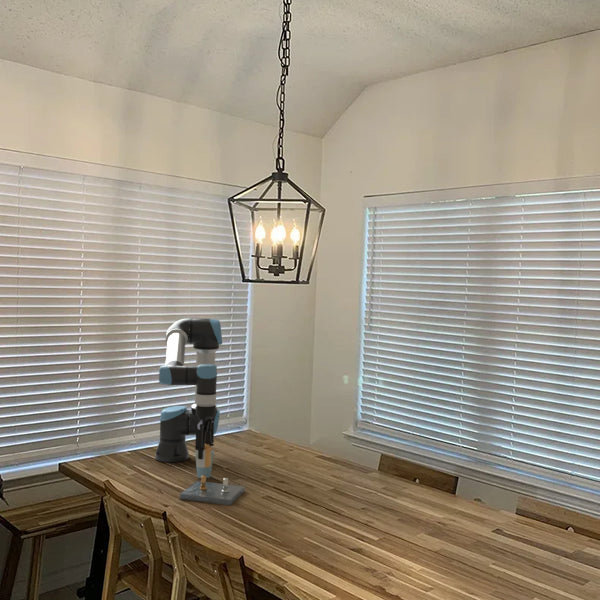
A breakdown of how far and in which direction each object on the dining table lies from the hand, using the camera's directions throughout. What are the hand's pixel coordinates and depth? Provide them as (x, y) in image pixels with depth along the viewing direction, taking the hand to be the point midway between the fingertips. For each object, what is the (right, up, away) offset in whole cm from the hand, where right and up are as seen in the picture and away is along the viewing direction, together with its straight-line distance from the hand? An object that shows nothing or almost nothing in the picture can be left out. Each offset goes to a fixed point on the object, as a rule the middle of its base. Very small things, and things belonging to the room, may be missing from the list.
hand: (204, 464), depth 241 cm
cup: (-3, -11, +22) cm, 25 cm away
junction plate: (+3, -11, 0) cm, 12 cm away
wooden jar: (0, 0, 0) cm, 0 cm away
